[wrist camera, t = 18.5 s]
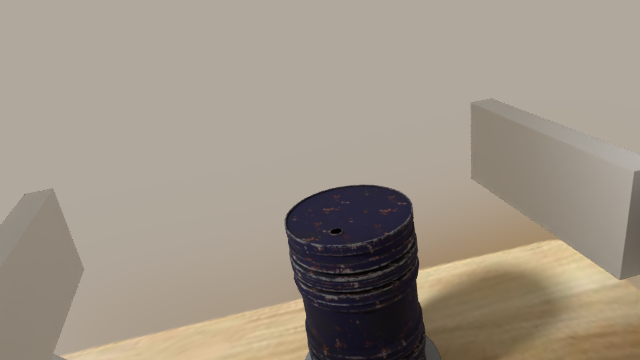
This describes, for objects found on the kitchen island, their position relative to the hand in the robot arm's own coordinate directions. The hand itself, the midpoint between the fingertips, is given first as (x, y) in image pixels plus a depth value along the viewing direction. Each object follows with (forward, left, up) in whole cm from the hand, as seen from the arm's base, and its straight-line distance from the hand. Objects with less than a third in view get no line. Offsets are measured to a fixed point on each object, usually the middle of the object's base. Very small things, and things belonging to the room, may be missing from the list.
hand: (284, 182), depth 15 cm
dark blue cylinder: (+7, +18, -26) cm, 32 cm away
